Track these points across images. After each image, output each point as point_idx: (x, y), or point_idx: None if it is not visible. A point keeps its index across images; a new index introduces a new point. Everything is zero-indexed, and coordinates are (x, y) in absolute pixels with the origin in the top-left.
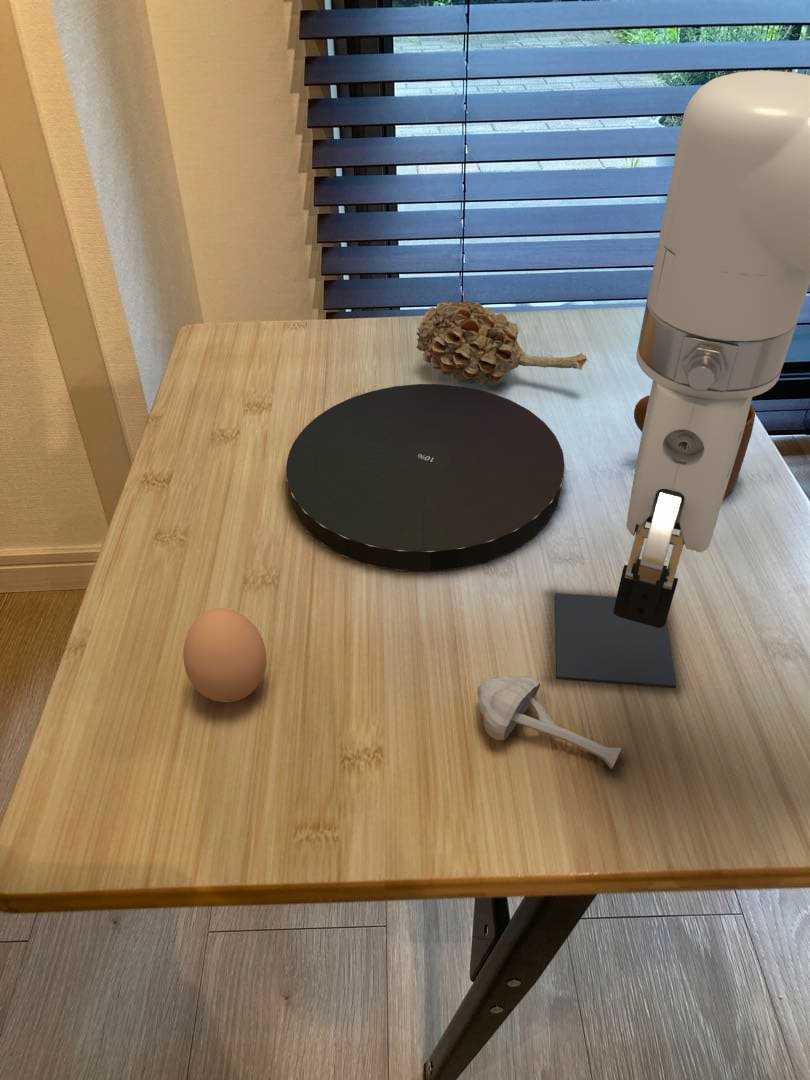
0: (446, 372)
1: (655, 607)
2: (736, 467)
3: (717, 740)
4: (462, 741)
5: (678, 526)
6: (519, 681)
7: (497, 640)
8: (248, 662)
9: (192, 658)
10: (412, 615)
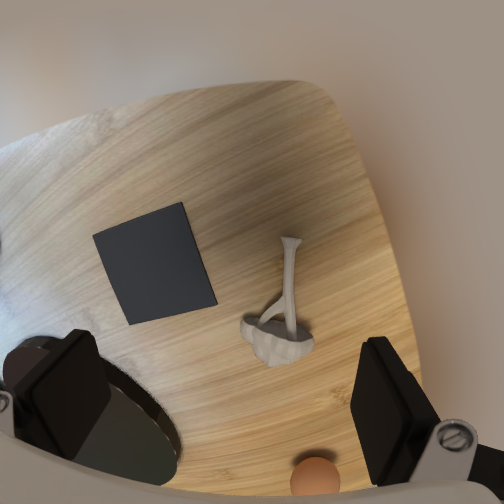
0: None
1: (424, 394)
2: None
3: (226, 154)
4: None
5: (93, 350)
6: (262, 344)
7: (200, 354)
8: (326, 481)
9: None
10: (207, 409)
